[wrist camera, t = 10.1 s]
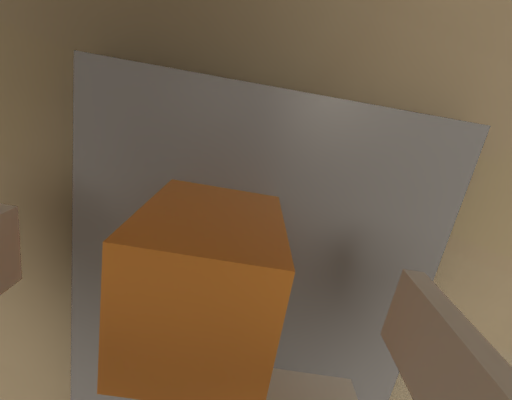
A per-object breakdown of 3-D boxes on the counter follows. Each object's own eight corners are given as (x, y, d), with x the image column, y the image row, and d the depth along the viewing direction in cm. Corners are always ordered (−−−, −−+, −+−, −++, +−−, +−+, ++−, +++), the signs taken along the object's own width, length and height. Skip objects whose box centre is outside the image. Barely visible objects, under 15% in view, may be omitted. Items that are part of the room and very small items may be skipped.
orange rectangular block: (171, 179, 15) (102, 242, 8) (278, 196, 15) (295, 271, 9) (162, 274, 16) (97, 394, 10) (260, 289, 17) (261, 416, 10)
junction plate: (91, 55, 15) (-109, -1, 7) (469, 123, 16) (697, 147, 8) (83, 418, 21) (-26, 615, 13) (353, 453, 22) (409, 661, 14)
